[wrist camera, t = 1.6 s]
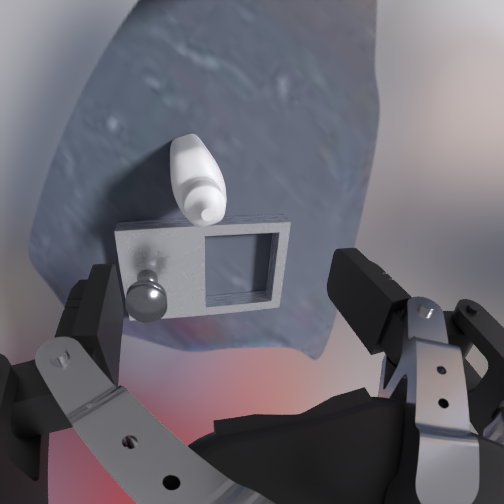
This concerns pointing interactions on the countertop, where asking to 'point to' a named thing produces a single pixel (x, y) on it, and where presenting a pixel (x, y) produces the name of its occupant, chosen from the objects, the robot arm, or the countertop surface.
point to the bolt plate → (190, 266)
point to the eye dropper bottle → (196, 181)
